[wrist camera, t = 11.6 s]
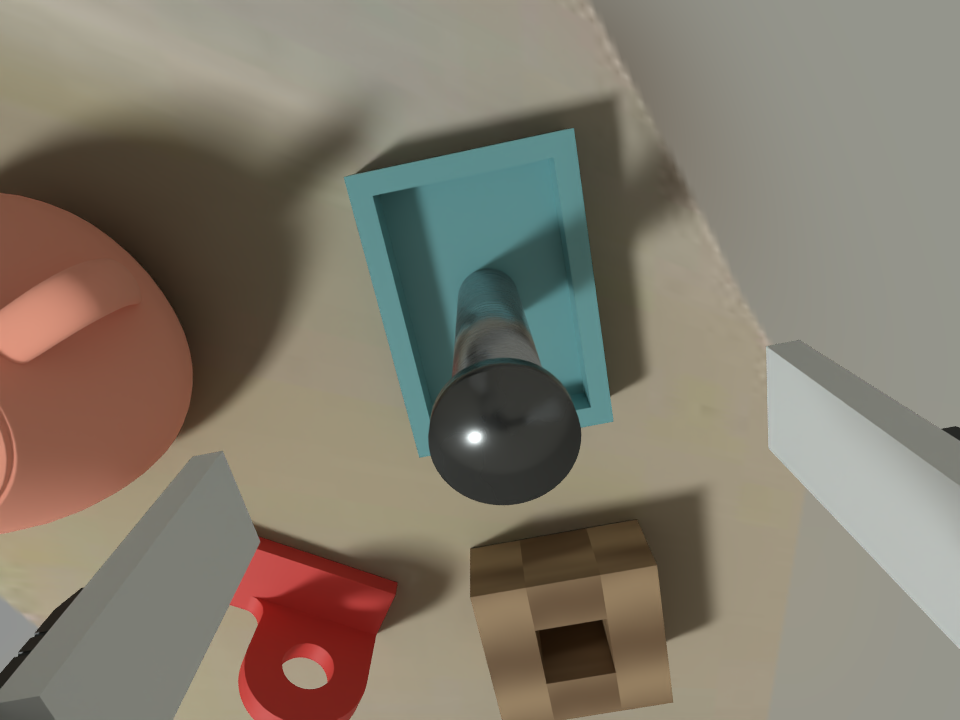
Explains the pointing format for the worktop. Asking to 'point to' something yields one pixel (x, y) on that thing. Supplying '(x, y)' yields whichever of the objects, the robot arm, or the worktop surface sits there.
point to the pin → (500, 403)
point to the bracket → (308, 632)
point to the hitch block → (572, 623)
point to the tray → (483, 262)
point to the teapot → (79, 365)
